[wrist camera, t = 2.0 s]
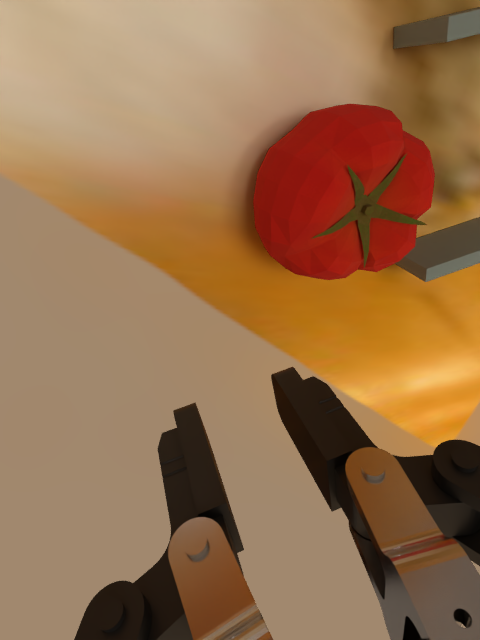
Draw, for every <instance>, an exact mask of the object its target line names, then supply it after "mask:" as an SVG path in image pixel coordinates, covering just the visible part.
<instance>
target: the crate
mask: <svg viewBox="0 0 480 640" xmlns="http://www.w3.org/2000/svg"><path fill="white" fill-rule="evenodd" d="M477 34H480V7H478V8H473V9H469V10H465V11H461V12H456V13H452V14H448V15H444V16H439V17H435V18H431V19H427V20H422V21H418V22H414V23H410V24H405V25H401V26H397V27H394V46H393V49H394V48H402V47H410V46H418V45H426V44H435V43H443V42H449V41H453V40H457V39H461V38H465V37H469V36H473V35H477ZM478 263H480V217H479V218H476V219H473V220H470V221H467V222H464V223H461V224H458V225H455V226H452V227H449V228H446V229H443V230H440V231H437V232H434V233H431V234H428V235H425V236H422V237H419V238H416V243H415V247H414V248H413V249H412V250H411V251H410V252H409V253H408V254H407V255H405V256H404V257H403V258H402V259H401V260H400V261H399V262H396V263H395V264H396V265H398V266H400V267H401V268H403V269H405V270H406V271H408V272H410V273H411V274H413V275H415V276H416V277H418V278H420V279H421V280H423V281H425V282H427V281H430V280H433V279H436V278H438V277H441V276H444V275H447V274H450V273H452V272H455V271H458V270H461V269H464V268H467V267H469V266H472V265H475V264H478Z"/></svg>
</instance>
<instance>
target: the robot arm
mask: <svg viewBox="0 0 480 640" xmlns="http://www.w3.org/2000/svg"><path fill="white" fill-rule="evenodd" d="M271 378H272V384H273V389H274V394H275V399H276V404H277V409H278V412H279V415H280V417H281V420H282V422H283V424H284V426H285V428H286V430H287V431H288V433H289V435H290V437H291V439H292V440H293V442H294V444H295V446H296V448H297V449H298V451H299V453H300V455H301V457H302V459H303V460H304V462H305V464H306V466H307V468H308V469H309V471H310V473H311V475H312V476H313V478H314V480H315V482H316V484H317V486H318V487H319V489H320V491H321V493H322V495H323V496H324V498H325V500H326V502H327V504H328V505H329V507H330V509H331V511H334V510H337V509H339V508H342V509H343V511H344V513H345V515H346V516H347V518H348V520H349V529H350V532H351V534H352V537H353V539H354V542H355V544H356V547H357V549H358V551H359V554H360V556H361V559H362V561H363V564H364V566H365V568H366V571H367V573H368V576H369V578H370V581H371V583H372V585H373V588H374V590H375V593H376V595H377V597H378V600H379V603H380V606H381V609H382V612H383V616H384V620H385V624H386V627H387V630H388V633H389V636H390V639H391V640H480V575H479V573H478V572H477V570H476V568H475V567H474V565H473V563H472V562H471V561H473V562H474V563H476V564H477V565H479V566H480V446H478V445H476V444H473V443H471V442H467V441H463V440H449V441H445V442H443V443H441V444H440V445H438V446H437V447H436V449H435V451H434V454H433V455H426V456H414V457H399V456H394V455H391V454H390V453H388V452H387V451H385V450H382V449H379V448H378V447H377V446H375V445H374V444H373V443H372V441H371V440H370V439H369V438H368V436H367V435H366V434H365V432H364V431H363V430H362V429H361V427H360V426H359V425H358V423H357V422H356V421H355V419H354V418H353V417H352V416H351V414H350V413H349V412H348V410H347V409H346V408H344V406H343V404H342V403H341V401H340V400H339V399H338V398H337V397H336V395H335V394H334V392H333V391H332V390H331V388H330V387H329V386H328V385H327V384H326V383H324V382H323V381H321V380H319V379H317V378H315V377H310V378H308V379H305V380H303V379H302V378H301V377H300V375H299V374H298V372H297V371H296V370H295V368H293V367H291V368H288V369H286V370H283V371H280V372H277V373H275V374H272V375H271ZM174 417H175V421H176V425H177V428H175V429H172V430H169V431H167V432H164V433H162V435H161V439H160V442H159V446H158V453H159V459H160V464H161V471H162V476H163V483H164V489H165V494H166V500H167V506H168V512H169V518H170V524H171V537H170V541H169V544H168V547H167V549H166V551H165V553H164V554H163V556H162V557H161V559H160V560H159V561H158V562H157V563H156V564H155V565H154V566H153V567H152V568H151V569H150V570H148V571H147V572H146V573H145V574H144V575H143V576H141V577H140V578H139V579H138V580H137V581H135V582H134V583H131V582H128V581H117V582H114V583H111V584H109V585H107V586H106V587H104V588H103V589H102V590H101V591H99V592H98V594H96V595H95V597H94V598H93V599H92V600H91V602H90V604H89V605H88V607H87V609H86V611H85V613H84V616H83V618H82V621H81V624H80V626H79V629H78V631H77V634H76V637H75V639H74V640H273V638H272V636H271V634H270V632H269V630H268V628H267V625H266V623H265V621H264V619H263V617H262V615H261V613H260V611H259V609H258V607H257V605H256V603H255V600H254V598H253V596H252V594H251V592H250V590H249V587H248V585H247V583H246V581H245V579H244V575H243V572H242V568H241V565H240V562H239V558H238V555H237V553H238V552H240V551H242V550H244V548H243V545H242V542H241V539H240V536H239V532H238V529H237V526H236V523H235V520H234V517H233V514H232V511H231V507H230V504H229V501H228V498H227V495H226V492H225V489H224V485H223V482H222V479H221V476H220V473H219V470H218V467H217V464H216V460H215V457H214V454H213V451H212V448H211V445H210V442H209V439H208V436H207V434H206V431H205V428H204V425H203V422H202V420H201V417H200V414H199V411H198V408H197V406H196V403H193V404H190V405H188V406H185V407H182V408H179V409H177V410H174ZM461 624H463V625H464V626H465V627H466V628H463V627H461Z"/></svg>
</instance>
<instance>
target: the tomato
mask: <svg viewBox="0 0 480 640" xmlns="http://www.w3.org/2000/svg"><path fill="white" fill-rule="evenodd" d="M434 177H435V173H434V169H433V164H432V160H431V155H430V151H429V149H428V148H427V146H426V145H425V143H424V142H423V141H421V140H419V139H418V138H416V137H414V136H412V135H410V134H409V133H407V132H405V131H403V130H402V123H401V122H400V120H399V119H398V118H397V117H396V116H395V115H394V114H393V112H392V111H390V110H387V109H384V108H380V107H377V106H369V105H358V104H345V105H338V106H333V107H329V108H325V109H321V110H317V111H313V112H310V113H309V114H308V115H307V116H305V117H304V118H303V119H302V120H301V121H300V123H299V124H298V125H297V126H296V127H295V128H294V129H293V130H292V131H290V132H289V133H288V134H287V135H285V136H284V137H283V138H282V139H280V140H279V141H278V142H277V143H276V144H274V145H273V146H272V147H271V148H269V150H268V152H267V154H266V156H265V158H264V160H263V162H262V164H261V167H260V169H259V171H258V174H257V180H256V187H255V193H254V200H253V204H254V217H255V228H256V230H257V232H258V234H259V236H260V239H261V241H262V243H263V245H264V247H265V249H266V250H267V252H268V253H269V254H270V256H271V257H273V258H274V259H275V260H276V261H277V262H279V263H280V264H281V265H282V266H284V267H285V268H286V269H288V270H290V271H291V272H293V273H295V274H298V275H303V276H308V277H313V278H318V279H325V280H332V279H340V278H346V277H347V276H349V275H350V274H352V273H353V272H355V271H356V270H358V269H359V270H366V271H373V272H377V271H380V270H382V269H384V268H386V267H388V266H390V265H392V264H394V263H396V262H399V261H400V260H401V259H402V258H403V257H404V256H405V255H407V254H408V253H409V252H410V251H411V250H412V249H413V248H414V247H415V243H416V230H417V225H427V224H425V223H423V222H421V221H418V220H417V218H419V217H420V216H421V215H422V214H423V213H425V212H426V211H427V210H428V209H429V208H431V202H432V194H433V187H434Z"/></svg>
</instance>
